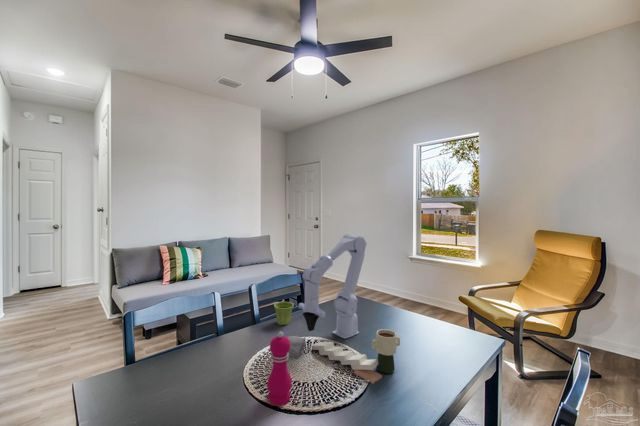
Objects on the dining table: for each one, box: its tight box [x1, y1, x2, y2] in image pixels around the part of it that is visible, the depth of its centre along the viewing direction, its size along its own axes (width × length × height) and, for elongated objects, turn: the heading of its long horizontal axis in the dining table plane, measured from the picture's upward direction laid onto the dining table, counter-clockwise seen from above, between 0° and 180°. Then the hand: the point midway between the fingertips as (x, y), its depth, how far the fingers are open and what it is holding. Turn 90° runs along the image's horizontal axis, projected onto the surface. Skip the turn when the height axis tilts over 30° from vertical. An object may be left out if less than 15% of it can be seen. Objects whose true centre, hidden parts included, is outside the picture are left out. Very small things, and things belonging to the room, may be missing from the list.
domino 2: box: [318, 345, 344, 356], centre depth 112 cm, size 5×2×8 cm
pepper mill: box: [266, 331, 293, 406], centre depth 87 cm, size 7×7×20 cm
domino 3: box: [327, 350, 355, 361], centre depth 109 cm, size 5×2×8 cm
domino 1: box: [310, 341, 335, 351], centre depth 116 cm, size 5×2×8 cm
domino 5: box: [350, 358, 379, 371], centre depth 103 cm, size 5×2×8 cm
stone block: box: [286, 335, 307, 359], centre depth 117 cm, size 12×5×10 cm
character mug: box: [371, 328, 401, 374], centre depth 104 cm, size 11×7×13 cm, turn 108°
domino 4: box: [339, 353, 368, 366], centre depth 106 cm, size 5×2×8 cm
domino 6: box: [353, 369, 383, 385], centre depth 100 cm, size 5×2×8 cm
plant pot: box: [273, 301, 295, 326], centre depth 143 cm, size 9×9×9 cm
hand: (311, 330), depth 121 cm, fingers closed
